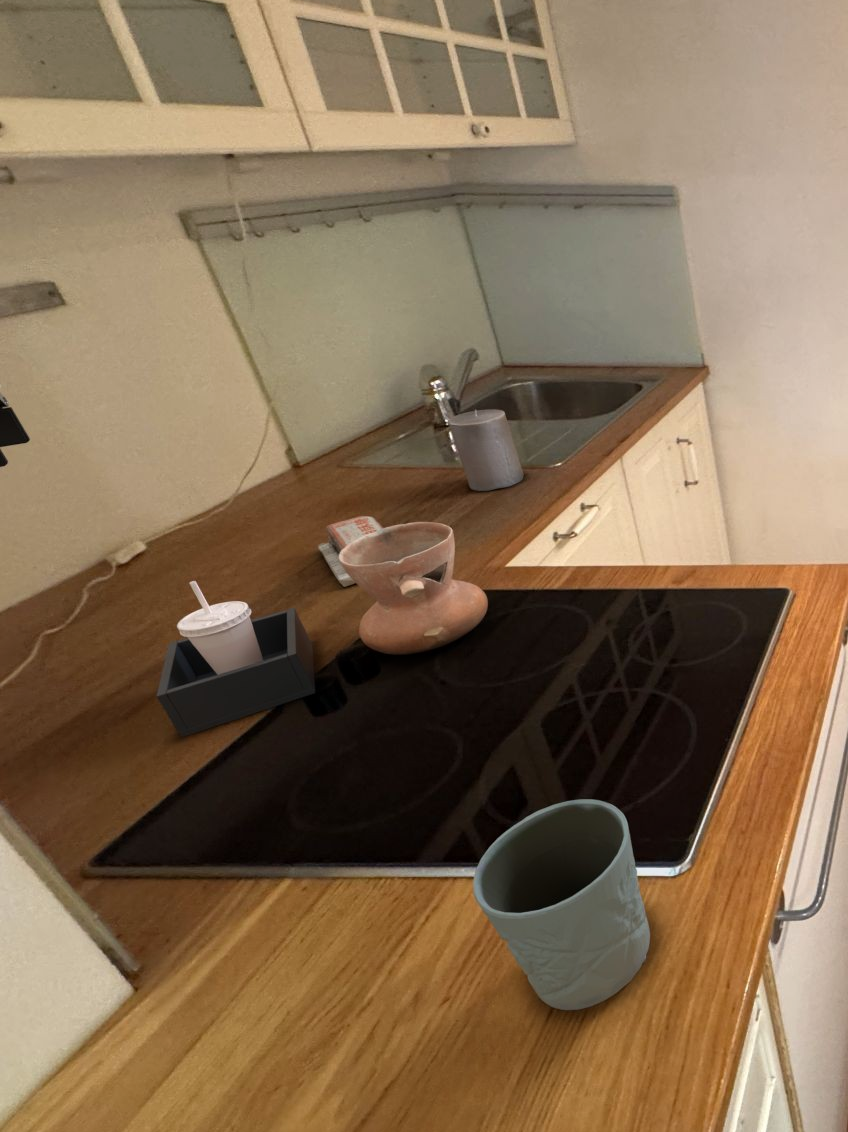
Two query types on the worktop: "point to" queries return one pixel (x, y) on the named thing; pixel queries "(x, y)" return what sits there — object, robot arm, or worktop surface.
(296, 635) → the bin
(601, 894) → the embossed green plant pot
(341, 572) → the packaged product
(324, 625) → the worktop surface
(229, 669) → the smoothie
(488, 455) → the pillar candle
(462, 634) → the pink clay vessel
